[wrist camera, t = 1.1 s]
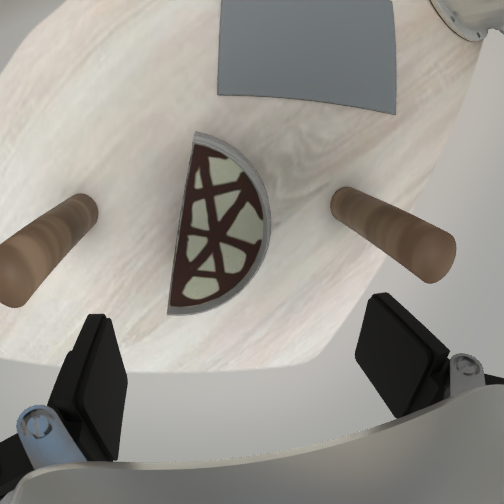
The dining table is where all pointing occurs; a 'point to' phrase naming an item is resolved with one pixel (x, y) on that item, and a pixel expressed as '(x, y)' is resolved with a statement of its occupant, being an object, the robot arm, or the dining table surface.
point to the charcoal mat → (310, 51)
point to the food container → (218, 228)
